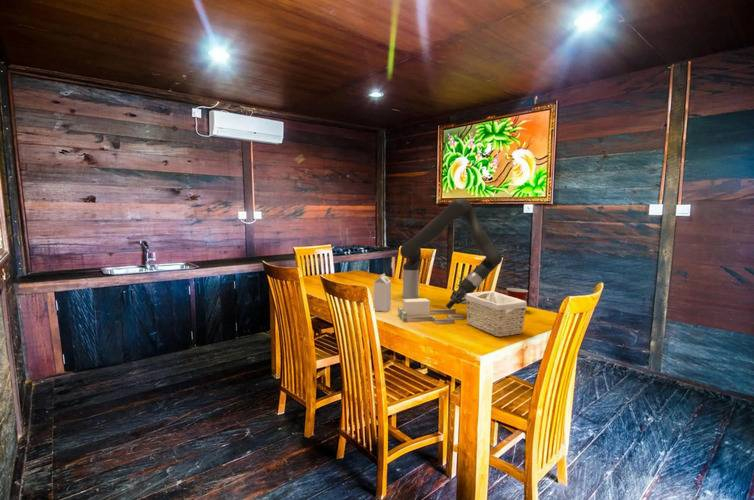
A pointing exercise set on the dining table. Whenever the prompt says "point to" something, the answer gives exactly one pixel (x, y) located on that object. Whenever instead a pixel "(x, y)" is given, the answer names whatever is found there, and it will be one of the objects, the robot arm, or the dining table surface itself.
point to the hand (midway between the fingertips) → (447, 307)
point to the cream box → (416, 307)
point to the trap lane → (449, 320)
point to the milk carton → (382, 294)
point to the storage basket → (495, 313)
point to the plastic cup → (517, 293)
